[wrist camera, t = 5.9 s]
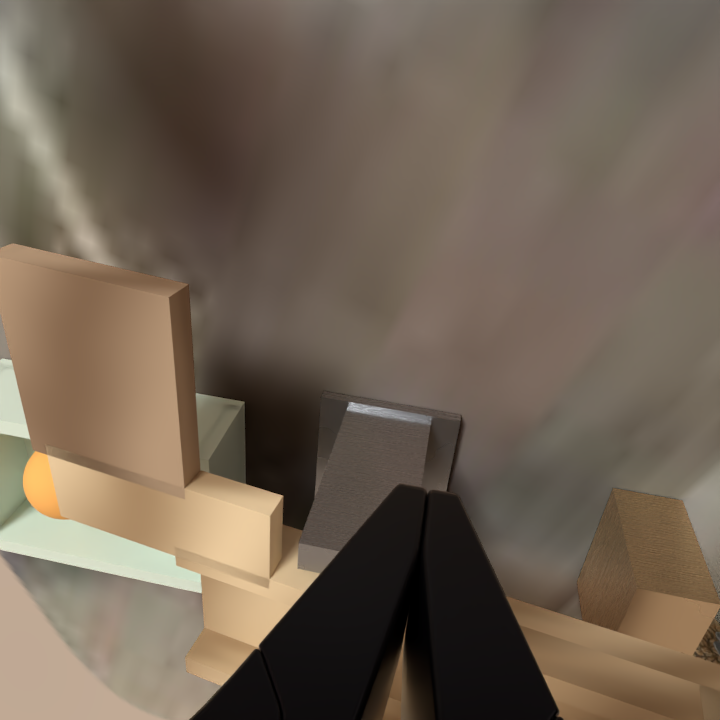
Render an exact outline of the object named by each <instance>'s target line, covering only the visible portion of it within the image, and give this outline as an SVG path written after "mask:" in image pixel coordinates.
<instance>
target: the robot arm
mask: <svg viewBox="0 0 720 720" xmlns="http://www.w3.org/2000/svg"><path fill="white" fill-rule="evenodd" d="M405 628H406V630H405ZM404 634H405V638H404ZM403 639H404V647H403V662H402V693H401V720H564V719H563V718H562V717H558V716H559V714H560V711H559V709H558V706H557V704H556V702H555V700H554V698H553V696H552V694H551V692H550V689H549V687H548V685H547V683H546V681H545V679H544V677H543V674H542V672H541V670H540V668H539V666H538V664H537V662H536V659H535V657H534V655H533V653H532V651H531V649H530V647H529V644H528V642H527V640H526V638H525V636H524V634H523V632H522V630H521V627H520V625H519V623H518V621H517V619H516V617H515V615H514V612H513V610H512V608H511V606H510V604H509V602H508V600H507V597H506V595H505V593H504V591H503V589H502V587H501V585H500V582H499V580H498V578H497V576H496V574H495V572H494V570H493V567H492V565H491V563H490V561H489V559H488V557H487V555H486V553H485V550H484V548H483V546H482V544H481V542H480V540H479V538H478V535H477V533H476V531H475V529H474V527H473V525H472V523H471V520H470V518H469V516H468V514H467V512H466V510H465V508H464V505H463V503H462V501H461V499H460V497H459V496H458V495H457V494H455V493H451V492H446V491H440V490H435V489H432V490H430V491H429V492H428V494H427V490H426V489H425V488H423V487H419V486H414V485H408V484H402V483H401V484H398V485H397V486H396V487H395V488H394V489H393V490H392V491H391V492H390V493H389V495H388V496H387V497H386V498H385V499H384V500H383V502H382V503H381V504H380V505H379V506H378V507H377V508H376V510H375V511H374V512H373V513H372V514H371V515H370V517H369V518H368V519H367V520H366V521H365V522H364V524H363V525H362V526H361V527H360V528H359V529H358V530H357V532H356V533H355V534H354V535H353V536H352V537H351V539H350V540H349V541H348V542H347V543H346V544H345V545H344V547H343V548H342V549H341V550H340V551H339V552H338V554H337V555H336V556H335V557H334V558H333V559H332V561H331V562H330V563H329V564H328V565H327V566H326V567H325V569H324V570H323V571H322V572H321V573H320V574H319V576H318V577H317V578H316V579H315V580H314V581H313V582H312V584H311V585H310V586H309V587H308V588H307V589H306V591H305V592H304V593H303V594H302V595H301V596H300V598H299V599H298V600H297V601H296V602H295V603H294V604H293V606H292V607H291V608H290V609H289V610H288V611H287V613H286V614H285V615H284V616H283V617H282V618H281V620H280V621H279V622H278V623H277V624H276V625H275V626H274V628H273V629H272V630H271V631H270V632H269V633H268V635H267V636H266V637H265V638H264V639H263V640H262V641H261V643H260V644H259V649H254V650H253V651H252V653H251V654H250V655H249V656H248V657H247V658H246V660H245V661H244V662H243V663H242V664H241V665H240V666H239V668H238V669H237V670H236V671H235V672H234V673H233V674H232V676H231V677H230V678H229V679H228V680H227V681H226V682H225V683H224V684H223V685H222V686H221V687H220V689H219V690H218V691H217V692H216V693H215V694H214V695H213V696H212V697H211V698H210V699H209V700H208V702H207V703H206V704H205V705H204V706H203V707H202V708H201V709H200V710H199V711H198V712H197V713H196V714H195V715H194V716H193V717H191V718H190V719H189V720H382V719H383V716H384V712H385V709H386V705H387V702H388V698H389V694H390V691H391V687H392V684H393V680H394V677H395V673H396V669H397V666H398V662H399V658H400V654H401V650H402V645H403Z"/></svg>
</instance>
